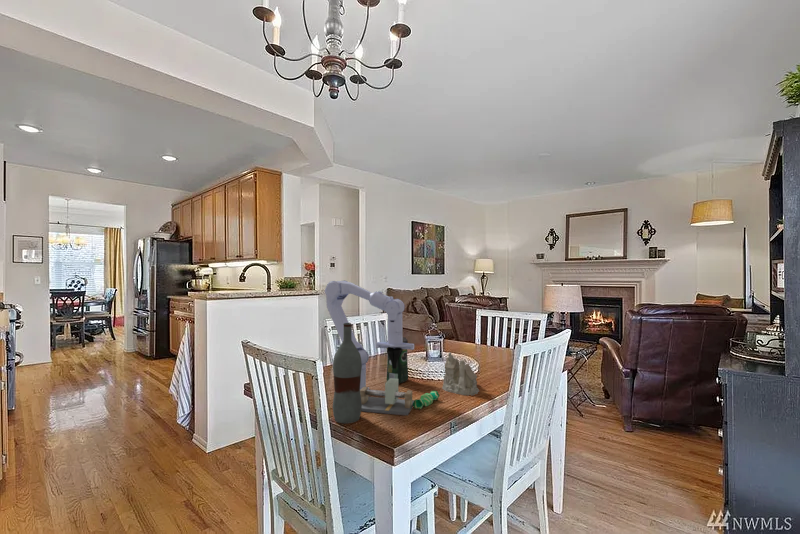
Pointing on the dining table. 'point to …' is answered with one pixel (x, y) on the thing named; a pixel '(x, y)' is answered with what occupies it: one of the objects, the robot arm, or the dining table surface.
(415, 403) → the candy
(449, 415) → the dining table surface
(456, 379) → the jagged grey rock
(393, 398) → the grey square nut
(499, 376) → the dining table surface
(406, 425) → the dining table surface
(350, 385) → the bottle
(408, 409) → the pipe rig
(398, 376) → the coffee jar
